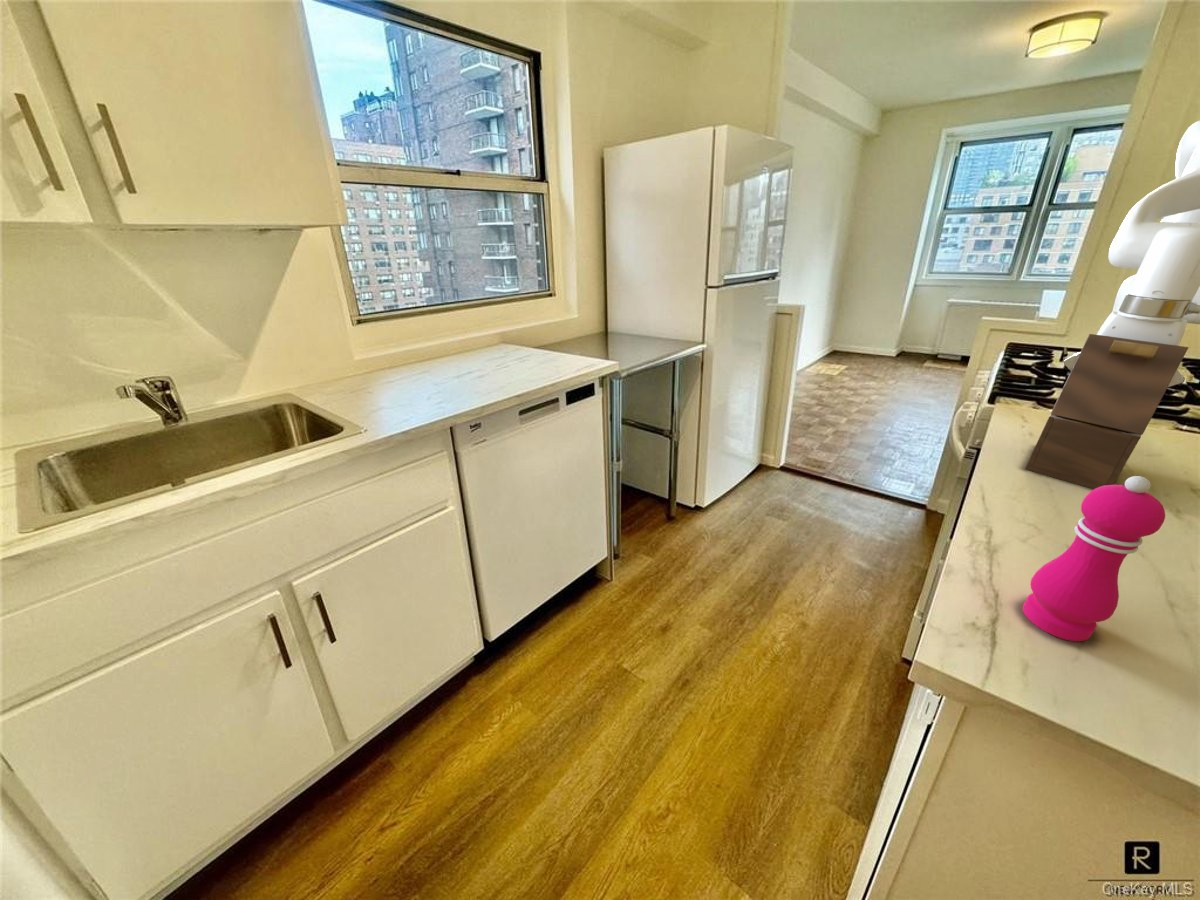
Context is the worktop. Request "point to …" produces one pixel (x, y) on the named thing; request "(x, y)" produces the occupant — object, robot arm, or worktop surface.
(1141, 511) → the pepper mill
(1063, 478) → the chest
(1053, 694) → the worktop surface
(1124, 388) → the lid
